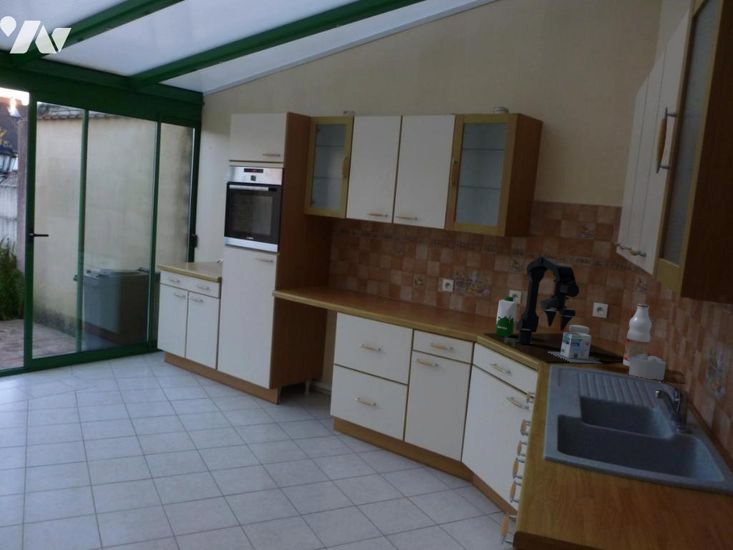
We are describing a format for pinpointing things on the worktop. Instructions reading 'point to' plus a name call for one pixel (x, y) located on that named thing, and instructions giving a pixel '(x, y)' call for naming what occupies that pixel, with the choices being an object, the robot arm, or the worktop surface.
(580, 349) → the light bulb box
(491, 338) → the worktop surface
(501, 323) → the milk carton
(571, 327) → the coffee cup
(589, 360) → the mat
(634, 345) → the fruit juice
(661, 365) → the lumpy-topped squat cylinder
